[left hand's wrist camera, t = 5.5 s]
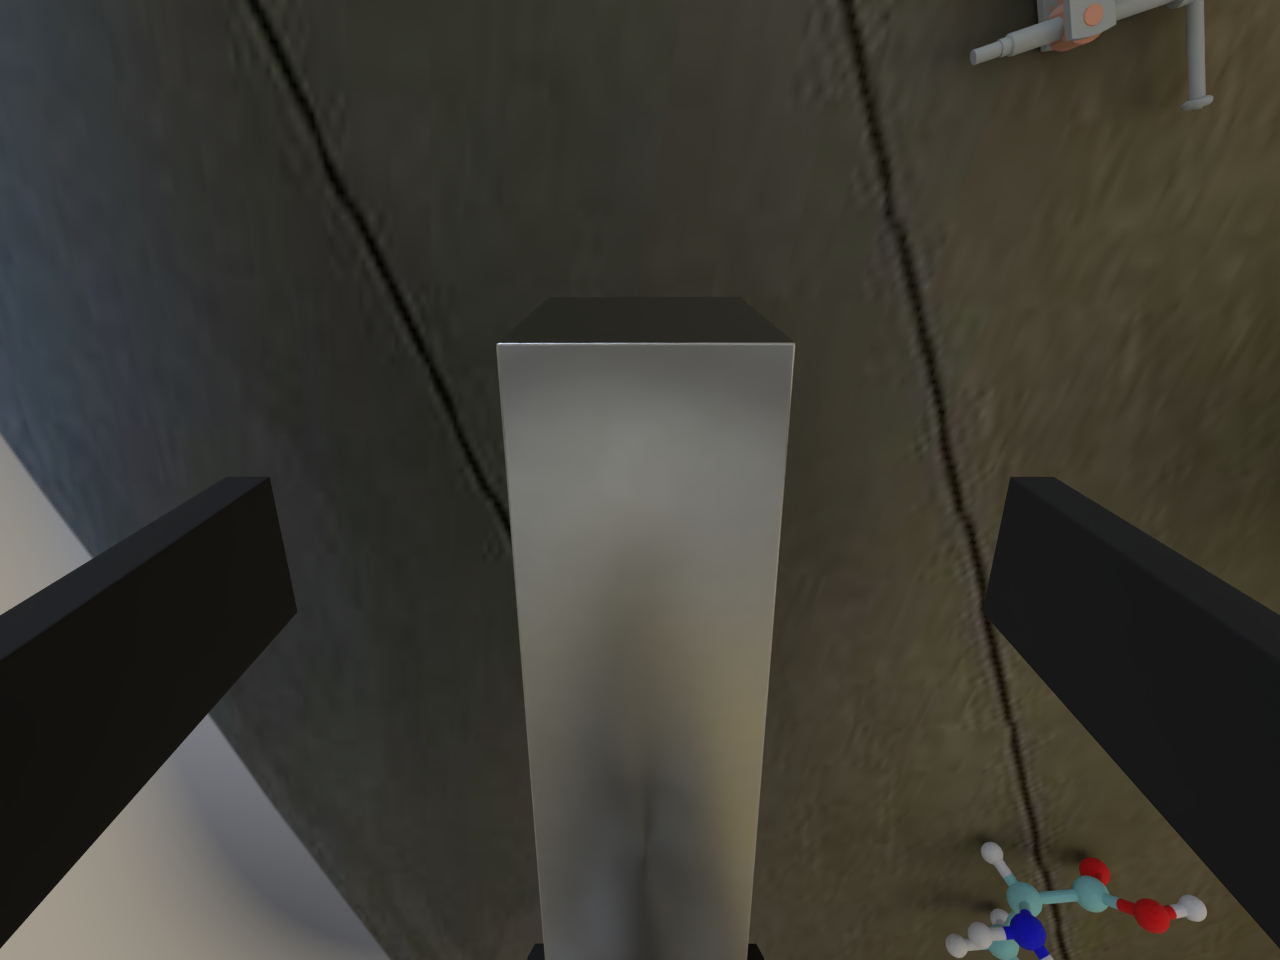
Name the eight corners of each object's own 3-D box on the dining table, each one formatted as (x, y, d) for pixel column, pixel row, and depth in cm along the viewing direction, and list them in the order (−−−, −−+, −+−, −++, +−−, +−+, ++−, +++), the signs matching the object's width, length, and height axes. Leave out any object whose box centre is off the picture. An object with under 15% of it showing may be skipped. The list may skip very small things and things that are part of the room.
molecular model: (1059, 1016, 42) (1119, 1136, 33) (917, 906, 46) (936, 988, 36) (1160, 863, 42) (1249, 940, 33) (1011, 764, 45) (1054, 808, 36)
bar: (548, 297, 21) (494, 342, 13) (741, 296, 21) (796, 341, 13) (579, 914, 31) (558, 1140, 23) (710, 914, 31) (733, 1141, 23)
